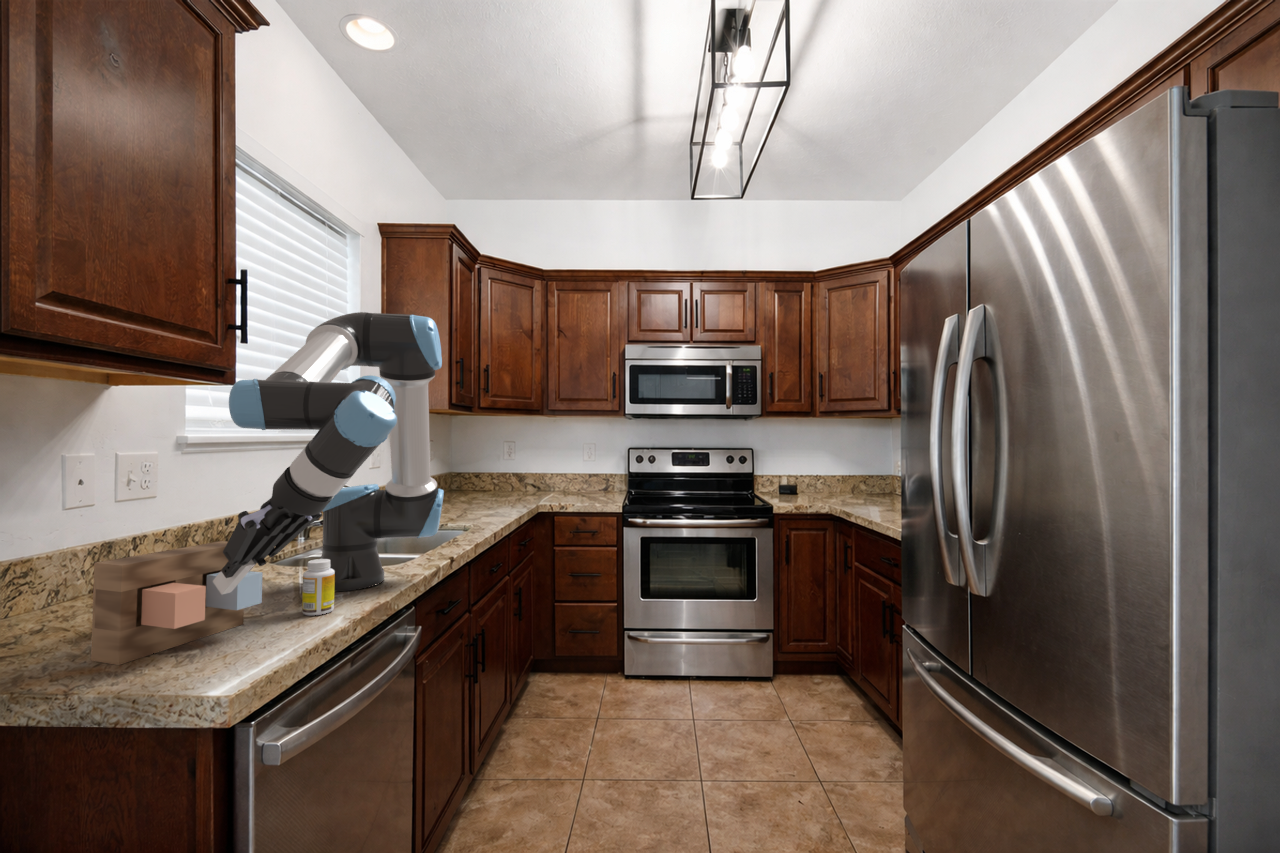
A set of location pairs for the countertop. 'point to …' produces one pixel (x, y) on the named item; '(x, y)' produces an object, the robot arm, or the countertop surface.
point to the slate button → (235, 593)
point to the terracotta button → (173, 605)
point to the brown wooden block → (122, 602)
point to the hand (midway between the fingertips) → (221, 586)
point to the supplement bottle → (318, 588)
